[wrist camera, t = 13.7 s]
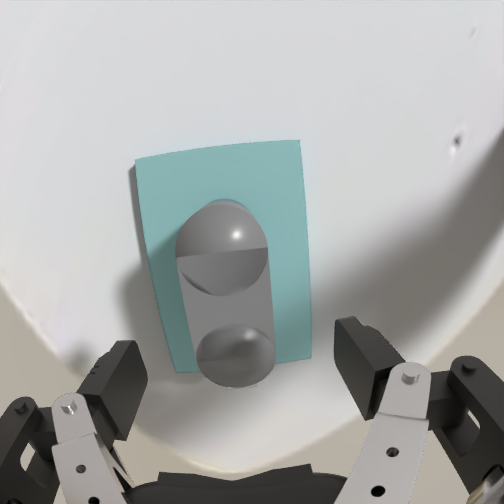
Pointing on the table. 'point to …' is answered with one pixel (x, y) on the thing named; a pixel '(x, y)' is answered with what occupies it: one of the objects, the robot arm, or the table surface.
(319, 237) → the table surface
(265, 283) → the plug block
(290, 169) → the mat
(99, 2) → the table surface
